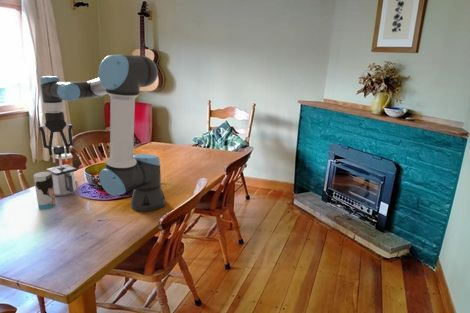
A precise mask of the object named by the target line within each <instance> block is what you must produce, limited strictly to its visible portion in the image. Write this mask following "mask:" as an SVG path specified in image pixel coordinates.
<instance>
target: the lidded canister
mask: <svg viewBox="0 0 470 313" xmlns="http://www.w3.org/2000/svg"><path fill="white" fill-rule="evenodd" d="M76 171H78V169H77V168H76V167H74V166H73V167H72V166H70V165H67V164H66V165H63V169H62V170H60V166H58V165H57V166H53V167H49V168H46V169H45V172H51V173H52V178H53V186H54V193H55V198H62V197H63V198H65V197H70V196H73V195H74V194H76V193H77V188H76V182H75V172H76Z"/></svg>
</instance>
